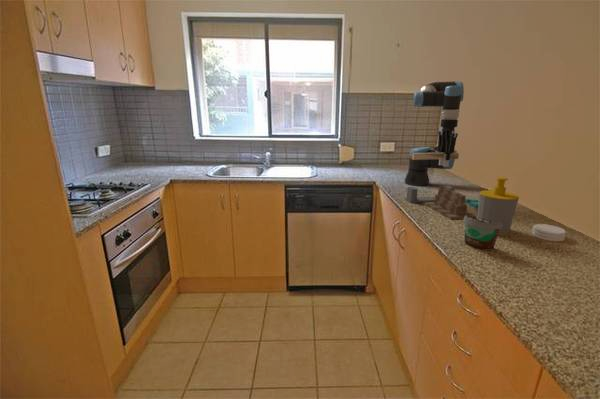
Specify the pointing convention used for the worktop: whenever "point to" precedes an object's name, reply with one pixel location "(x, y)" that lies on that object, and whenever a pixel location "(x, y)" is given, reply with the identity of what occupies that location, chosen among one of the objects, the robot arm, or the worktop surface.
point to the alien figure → (472, 202)
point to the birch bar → (432, 156)
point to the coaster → (548, 232)
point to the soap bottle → (498, 206)
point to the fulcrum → (450, 204)
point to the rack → (414, 199)
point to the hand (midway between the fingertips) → (443, 165)
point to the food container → (481, 232)
